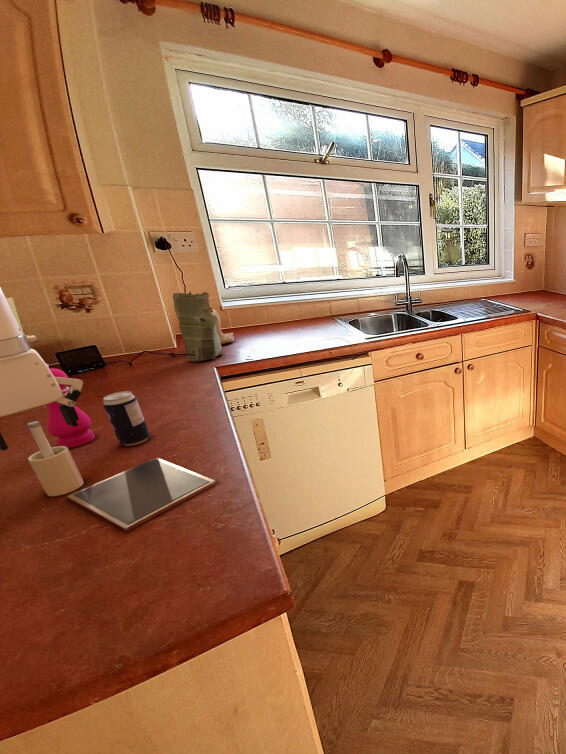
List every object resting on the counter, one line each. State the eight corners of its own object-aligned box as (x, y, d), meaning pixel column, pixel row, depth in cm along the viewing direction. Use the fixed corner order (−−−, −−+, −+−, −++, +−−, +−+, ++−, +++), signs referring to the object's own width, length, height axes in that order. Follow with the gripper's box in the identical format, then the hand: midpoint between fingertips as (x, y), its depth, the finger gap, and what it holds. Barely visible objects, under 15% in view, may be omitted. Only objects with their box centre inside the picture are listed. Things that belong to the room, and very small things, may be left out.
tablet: (126, 532, 72) (124, 527, 71) (68, 499, 80) (66, 495, 80) (216, 483, 84) (215, 480, 84) (158, 460, 93) (156, 456, 92)
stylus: (61, 488, 82) (29, 425, 77) (57, 487, 83) (25, 423, 78) (70, 484, 84) (39, 422, 78) (67, 483, 84) (36, 420, 79)
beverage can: (143, 433, 104) (125, 389, 100) (156, 438, 102) (138, 392, 97) (115, 444, 99) (95, 398, 95) (128, 449, 97) (108, 402, 92)
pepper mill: (52, 444, 100) (14, 364, 93) (93, 431, 106) (59, 355, 98) (60, 452, 96) (20, 370, 89) (101, 439, 102) (67, 361, 94)
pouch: (188, 357, 160) (166, 291, 150) (225, 351, 167) (206, 287, 157) (190, 365, 152) (167, 295, 142) (228, 358, 159) (209, 291, 149)
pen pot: (53, 499, 80) (35, 463, 77) (41, 492, 82) (22, 456, 79) (89, 483, 85) (72, 449, 82) (76, 477, 87) (60, 443, 84)
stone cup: (197, 352, 166) (185, 314, 161) (192, 346, 175) (180, 310, 169) (240, 344, 176) (230, 308, 170) (233, 338, 184) (224, 304, 178)
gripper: (53, 334, 81) (88, 413, 88) (-93, 361, 67) (-38, 454, 74) (71, 338, 78) (106, 420, 85) (-78, 367, 64) (-22, 464, 70)
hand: (39, 436), depth 79 cm, fingers open, 9 cm apart
